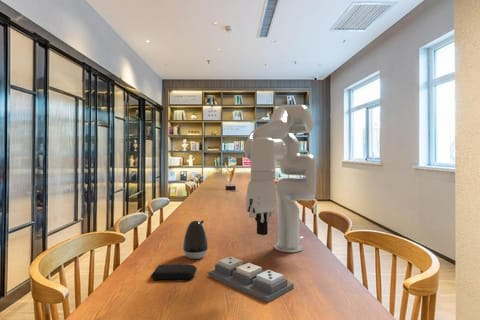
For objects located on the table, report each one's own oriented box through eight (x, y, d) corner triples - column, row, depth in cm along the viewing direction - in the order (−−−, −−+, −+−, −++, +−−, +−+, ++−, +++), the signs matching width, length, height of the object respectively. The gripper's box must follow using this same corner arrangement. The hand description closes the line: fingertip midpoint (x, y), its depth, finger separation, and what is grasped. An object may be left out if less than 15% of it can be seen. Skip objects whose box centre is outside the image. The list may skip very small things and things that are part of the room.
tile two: (230, 261, 113) (230, 255, 113) (242, 266, 109) (242, 259, 109) (218, 266, 109) (218, 260, 108) (230, 270, 104) (230, 264, 104)
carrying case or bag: (197, 270, 113) (158, 270, 113) (197, 262, 113) (158, 262, 113) (193, 282, 103) (149, 282, 103) (193, 273, 103) (149, 273, 103)
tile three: (268, 275, 100) (268, 269, 100) (283, 281, 96) (283, 274, 96) (256, 281, 96) (256, 274, 96) (271, 287, 92) (271, 280, 92)
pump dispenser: (213, 255, 128) (212, 219, 128) (197, 263, 119) (197, 224, 119) (194, 251, 133) (193, 216, 133) (177, 258, 124) (177, 221, 124)
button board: (234, 265, 116) (234, 256, 116) (293, 288, 98) (293, 277, 97) (208, 275, 107) (208, 266, 107) (267, 302, 88) (267, 290, 88)
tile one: (248, 268, 107) (248, 262, 106) (261, 273, 102) (261, 266, 102) (236, 273, 102) (236, 266, 102) (249, 278, 98) (249, 271, 98)
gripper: (268, 175, 105) (268, 228, 105) (237, 176, 94) (236, 236, 94) (286, 176, 99) (285, 232, 99) (254, 178, 89) (254, 240, 89)
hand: (262, 234), depth 97 cm, fingers closed
